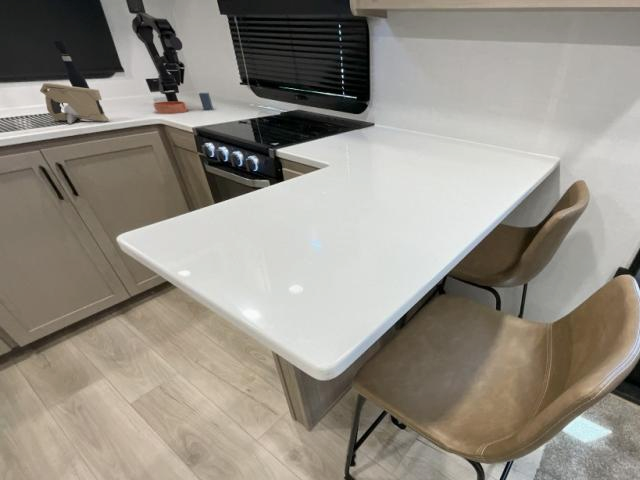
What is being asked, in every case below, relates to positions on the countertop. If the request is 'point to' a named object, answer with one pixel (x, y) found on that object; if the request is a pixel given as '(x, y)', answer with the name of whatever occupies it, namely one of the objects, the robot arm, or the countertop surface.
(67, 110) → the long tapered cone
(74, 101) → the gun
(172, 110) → the bowl
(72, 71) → the wine bottle
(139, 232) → the countertop surface
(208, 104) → the block
